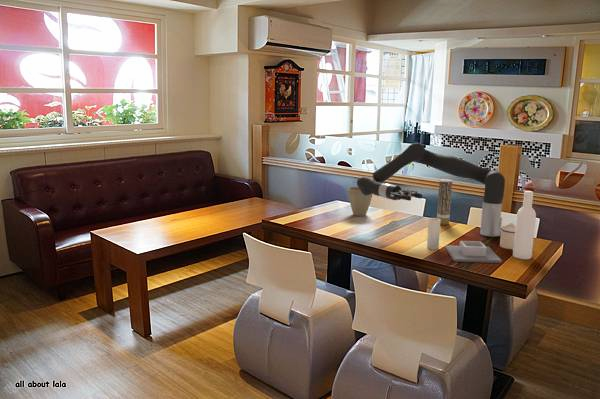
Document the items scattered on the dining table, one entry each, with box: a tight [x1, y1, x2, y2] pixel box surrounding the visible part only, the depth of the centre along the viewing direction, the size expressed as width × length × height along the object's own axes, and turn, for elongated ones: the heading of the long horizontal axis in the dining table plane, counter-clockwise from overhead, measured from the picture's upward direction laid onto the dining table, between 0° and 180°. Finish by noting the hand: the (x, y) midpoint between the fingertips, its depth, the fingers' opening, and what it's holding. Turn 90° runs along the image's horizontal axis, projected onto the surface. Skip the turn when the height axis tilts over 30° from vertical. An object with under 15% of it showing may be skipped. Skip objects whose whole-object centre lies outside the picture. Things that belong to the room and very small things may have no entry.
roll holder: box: [444, 240, 503, 264], centre depth 226 cm, size 20×20×5 cm
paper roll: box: [426, 217, 441, 251], centre depth 235 cm, size 5×5×14 cm
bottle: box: [512, 190, 537, 260], centre depth 222 cm, size 8×8×30 cm
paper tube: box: [436, 178, 453, 226], centre depth 279 cm, size 7×7×25 cm
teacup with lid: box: [499, 222, 516, 250], centre depth 239 cm, size 12×9×12 cm
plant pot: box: [347, 186, 374, 217], centre depth 299 cm, size 15×15×16 cm
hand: (416, 197), depth 240 cm, fingers open, 8 cm apart
